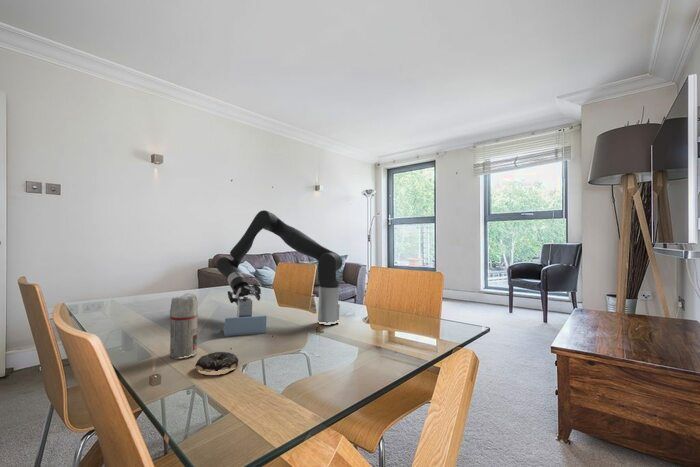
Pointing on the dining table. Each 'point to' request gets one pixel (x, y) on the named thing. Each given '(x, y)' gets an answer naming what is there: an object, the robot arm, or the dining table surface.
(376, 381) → the dining table surface
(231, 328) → the bracket
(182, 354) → the spray can
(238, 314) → the block
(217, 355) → the donut
